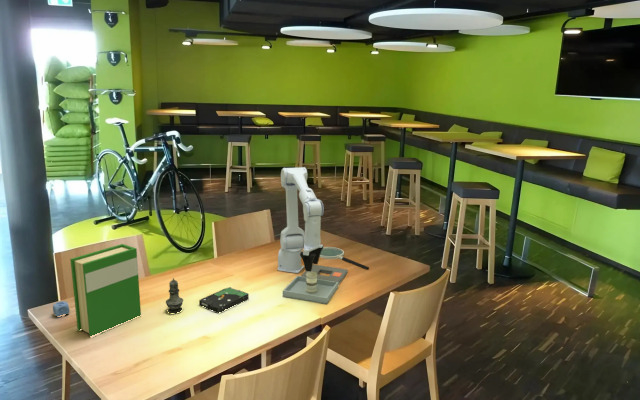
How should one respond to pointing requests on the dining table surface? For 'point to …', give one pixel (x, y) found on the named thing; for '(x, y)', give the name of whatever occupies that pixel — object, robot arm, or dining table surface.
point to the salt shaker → (174, 298)
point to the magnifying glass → (338, 256)
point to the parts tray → (299, 292)
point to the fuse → (311, 282)
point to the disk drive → (224, 299)
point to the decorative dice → (61, 308)
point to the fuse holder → (335, 273)
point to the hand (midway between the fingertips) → (311, 267)
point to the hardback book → (106, 288)
